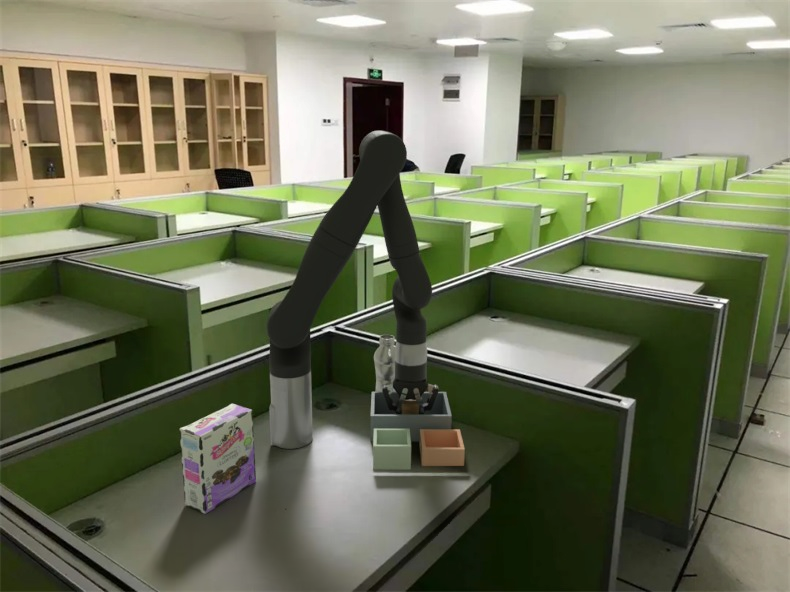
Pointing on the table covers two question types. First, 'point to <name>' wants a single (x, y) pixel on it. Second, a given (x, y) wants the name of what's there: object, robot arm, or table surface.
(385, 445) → the pale green open box
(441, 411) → the slate bin
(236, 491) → the candy box
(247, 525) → the table surface
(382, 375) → the plastic bottle
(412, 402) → the walnut block
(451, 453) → the peach square tray
